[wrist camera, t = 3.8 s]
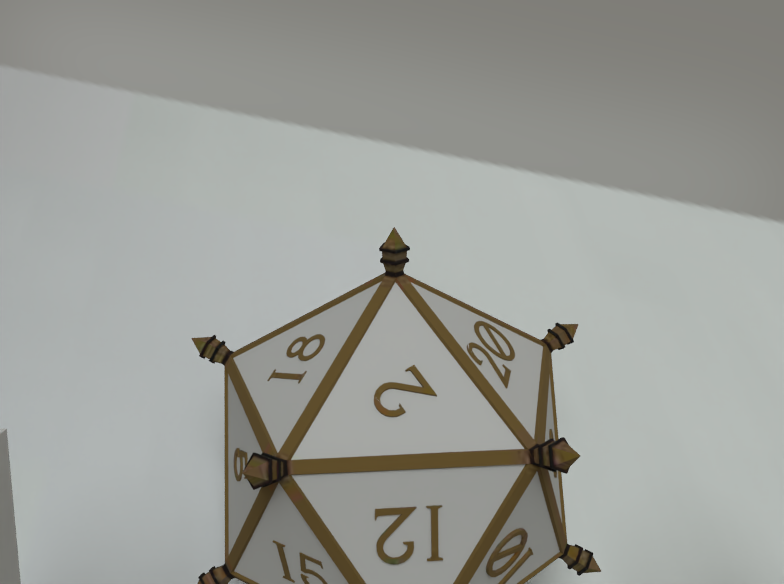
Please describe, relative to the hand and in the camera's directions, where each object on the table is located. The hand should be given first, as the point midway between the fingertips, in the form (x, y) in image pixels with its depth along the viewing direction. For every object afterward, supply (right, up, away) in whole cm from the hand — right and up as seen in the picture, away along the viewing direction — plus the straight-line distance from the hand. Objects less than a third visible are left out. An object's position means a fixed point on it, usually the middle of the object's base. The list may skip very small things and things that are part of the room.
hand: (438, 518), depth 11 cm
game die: (-1, -2, +8) cm, 8 cm away
